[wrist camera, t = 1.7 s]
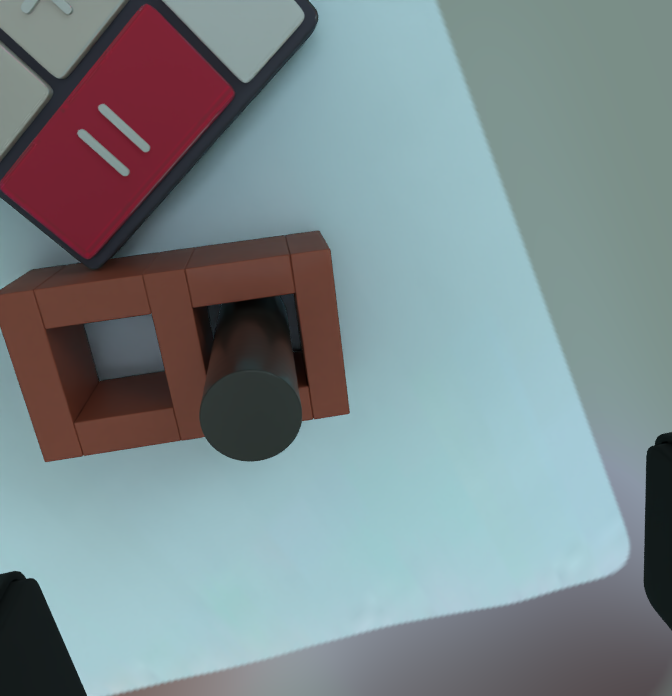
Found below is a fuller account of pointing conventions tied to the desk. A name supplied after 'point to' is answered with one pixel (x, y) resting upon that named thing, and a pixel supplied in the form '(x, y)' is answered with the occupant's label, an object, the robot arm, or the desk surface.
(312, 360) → the hollow brick
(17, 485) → the desk surface
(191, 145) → the calculator
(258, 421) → the peg
